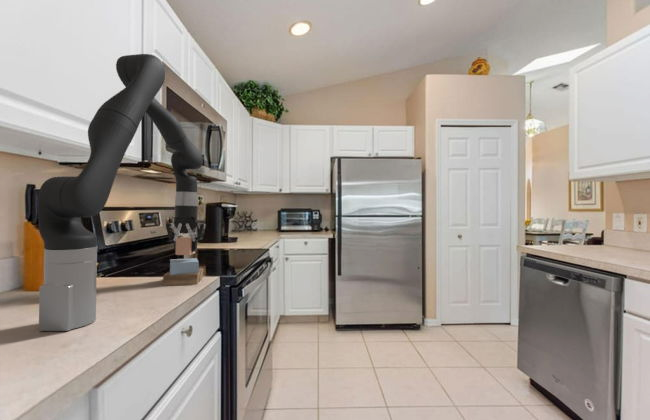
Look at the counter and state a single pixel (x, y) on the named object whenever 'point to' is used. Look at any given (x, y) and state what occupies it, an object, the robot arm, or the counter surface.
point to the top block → (184, 266)
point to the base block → (182, 278)
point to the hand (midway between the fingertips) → (185, 251)
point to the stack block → (183, 246)
